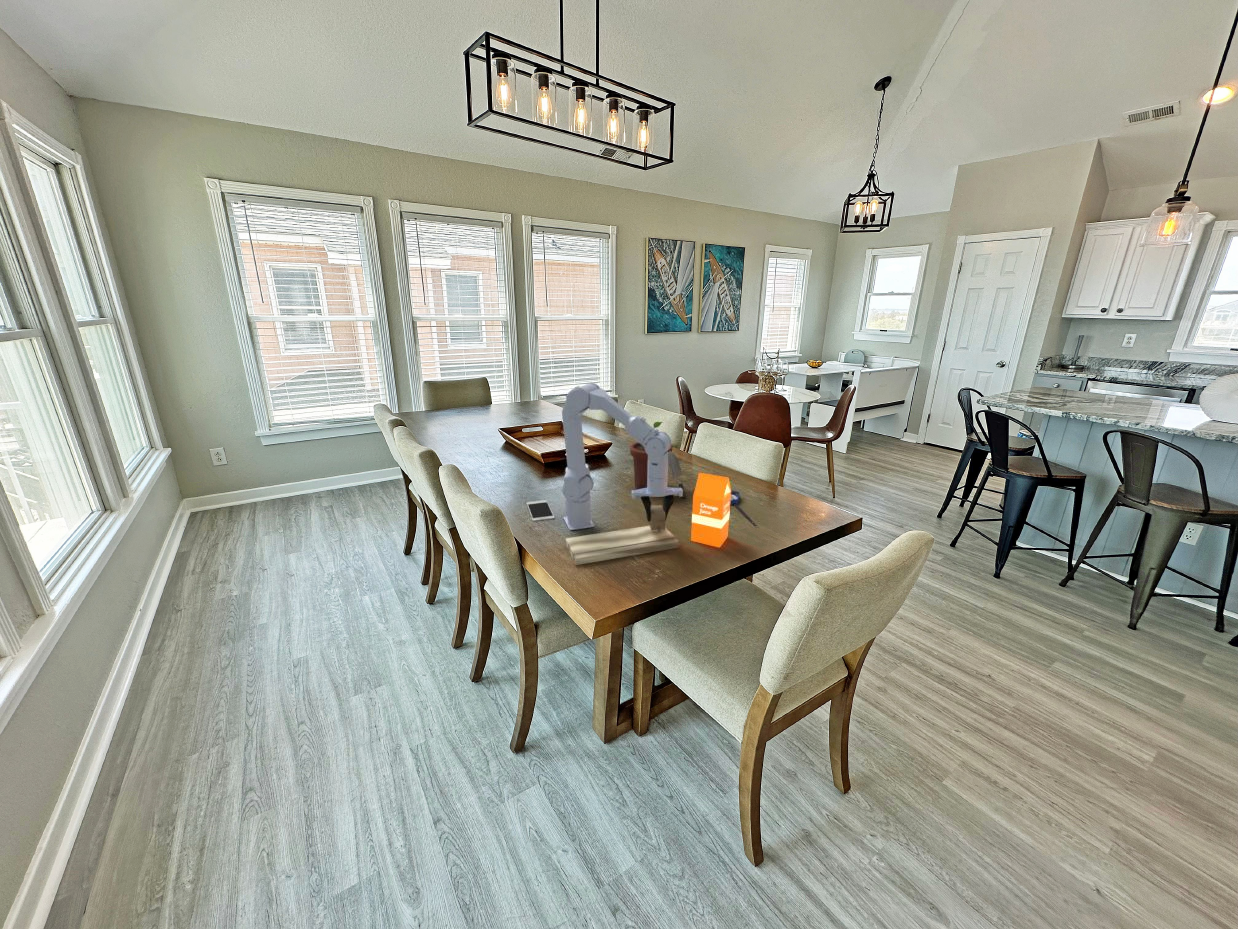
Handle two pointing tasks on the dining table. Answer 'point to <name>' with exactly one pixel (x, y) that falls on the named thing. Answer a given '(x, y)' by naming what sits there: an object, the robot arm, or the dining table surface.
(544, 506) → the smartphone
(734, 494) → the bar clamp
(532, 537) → the dining table surface
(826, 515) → the dining table surface
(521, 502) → the dining table surface
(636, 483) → the potted plant
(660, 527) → the block
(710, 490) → the orange juice
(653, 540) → the pine board
